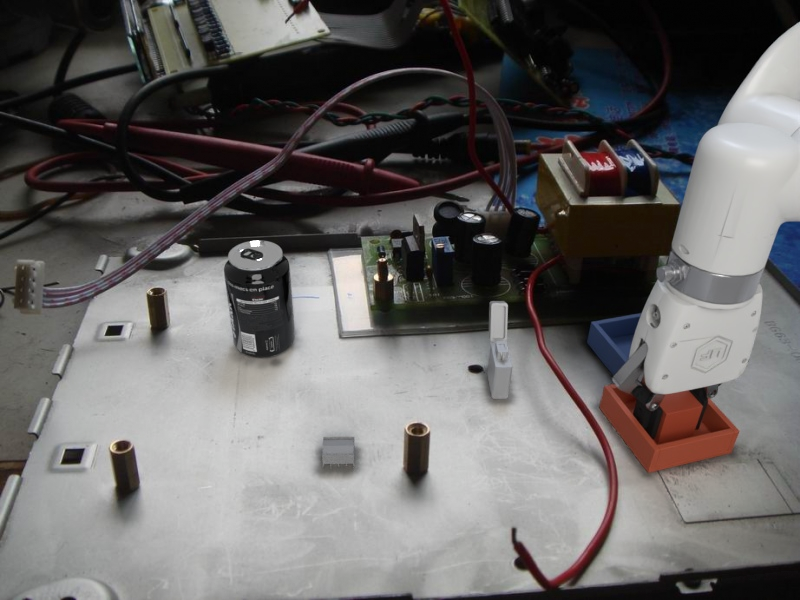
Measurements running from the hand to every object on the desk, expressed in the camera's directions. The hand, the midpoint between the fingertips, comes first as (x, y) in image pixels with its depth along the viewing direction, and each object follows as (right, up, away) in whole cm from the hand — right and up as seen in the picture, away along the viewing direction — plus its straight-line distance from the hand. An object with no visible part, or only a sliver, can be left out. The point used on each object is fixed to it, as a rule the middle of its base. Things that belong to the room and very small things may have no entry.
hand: (664, 423), depth 74 cm
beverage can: (-41, +7, +10) cm, 43 cm away
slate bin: (+1, +5, +9) cm, 11 cm away
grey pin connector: (-32, -3, -4) cm, 32 cm away
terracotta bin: (0, -1, 0) cm, 1 cm away
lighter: (-16, +4, +7) cm, 18 cm away
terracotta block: (0, 0, 0) cm, 0 cm away
